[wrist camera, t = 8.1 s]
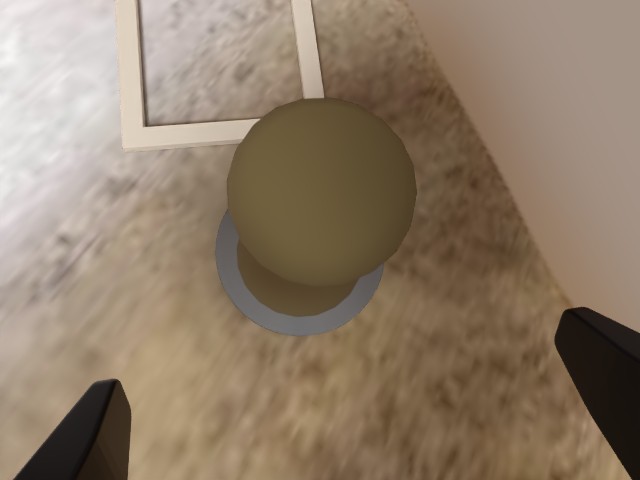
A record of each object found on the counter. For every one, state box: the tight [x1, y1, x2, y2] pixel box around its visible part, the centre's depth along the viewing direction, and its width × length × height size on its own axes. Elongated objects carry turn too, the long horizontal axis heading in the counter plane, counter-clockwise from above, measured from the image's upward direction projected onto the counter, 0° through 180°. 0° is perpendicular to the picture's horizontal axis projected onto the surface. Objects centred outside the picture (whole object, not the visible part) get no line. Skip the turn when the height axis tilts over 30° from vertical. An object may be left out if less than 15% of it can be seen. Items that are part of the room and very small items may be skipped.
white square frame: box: [115, 0, 324, 152], centre depth 24 cm, size 10×10×1 cm
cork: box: [227, 98, 417, 317], centre depth 17 cm, size 6×6×11 cm
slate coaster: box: [216, 209, 384, 336], centre depth 22 cm, size 8×8×1 cm
